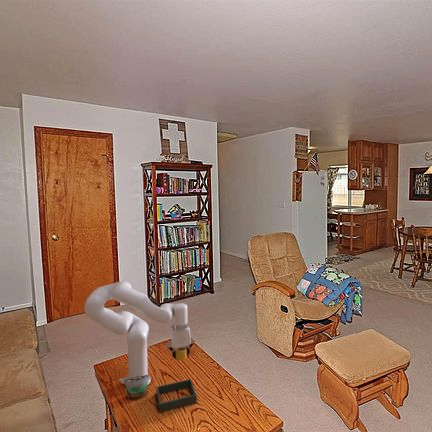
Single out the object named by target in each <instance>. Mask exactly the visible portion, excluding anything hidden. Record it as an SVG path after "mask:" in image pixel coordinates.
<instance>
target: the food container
mask: <svg viewBox="0 0 432 432" xmlns="http://www.w3.org/2000/svg"><path fill="white" fill-rule="evenodd" d="M149 376H150V373H148V375H145V376H138V377H134V378H131V379H127V380H125V379H124V384H123V385H125V391H126V397H127V399H129V400H140V399H142V398H144V396H146V395H147V393H148V385H149V384H148V380H149ZM147 384H148V385H147Z"/></svg>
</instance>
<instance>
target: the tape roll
mask: <svg viewBox="0 0 432 432" xmlns="http://www.w3.org/2000/svg"><path fill="white" fill-rule="evenodd" d="M187 358H188V356H187V346H185V347H179V348H176V349H175V359H174V360H176V361H183V360H186V359H187Z"/></svg>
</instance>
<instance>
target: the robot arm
mask: <svg viewBox="0 0 432 432" xmlns="http://www.w3.org/2000/svg"><path fill="white" fill-rule="evenodd" d="M110 300H114V301H116V302H118V303H121V304H122V305H125V306H128V307H131V308H133V309H135V310H137V311H138V312H140V313H141V314H142V315H143V316H145V317H146V318H148V319H150V320H152V321H154V322H157V323H160V324H168V323H169V322H171V321H173V323H172V324H171V325H170V328H171V336H170V337H171V338H170V340H169V341H168V342H167V344H165V347H166V348H167V349H168V350H169V351H171V356H172V358H173V359H174V360H176V359H175V349H176V348H179V347H187V357H189V356H190V354H191V348H192V347H193V346H194V344H196V339H194V338H193V337H192V336H191V330H190V327H189V325H188V323H189V322H188V320H189V319H188V317H189V316H188V305H187V304H186V303H183V302H181V303H167V302H166V303H163V304H161V306H158V305H156V304H155V303H153V301H151V299H150V298H149V296H148V295H147V294H146V293H143V292H140V291H139V290H136V289H133V288H132V285H131V284H130V283H129V282H128V281H125V280H123V281H122V280H121V281H117V282H114V283H109V284H106V285H102V286H99V287H97V288H95V289H94V290H93V291H92V292H91V293H90V294H89V296H88V297H87V298H86V301H85V303H84V314H85V315H86V317H87V318H89V319H90V320H91V321H93V322H95V323H97V324H99V325H100V326H102V327H103V328H105V329H107V330H109V331H110V332H112V333H114V334H115V335H116V336H117V335H118V336H122V335H125V334H126V333H128V334H127V337H126V338H127V339H126V344H127V357H128V358H127V361H128V374H127V376H125V377H122V378H119V383H121V384H122V385H125V384H124V379H125V380H127V379H131V378H134V377H138V376H145V375H148V374H149V371H148V369H149V368H148V367H149V366H148V343H147V342H148V341H147V340H148V335H149V330H150V326H149V324H148V323H147V322H146V321H145V320H143V319H142V318H140V317H138V316H137V315H135V314H134V313H132V312H130V311H127V310H122V311H119V312H115V311H114V310H113V309H110V308H107V307H105V304H106V303H107V301H110ZM151 381H152V378H151V376H150V375H149V380H148V384H147V386H149V384H151Z"/></svg>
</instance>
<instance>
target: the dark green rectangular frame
mask: <svg viewBox="0 0 432 432" xmlns="http://www.w3.org/2000/svg"><path fill="white" fill-rule="evenodd" d="M187 388H189V389H190V392H191V395H188V396H184V397H180V398H176V399H172V400H168V401H164V402H162V401H161V395H162V394H167V393H170V392H175V391H178V390H183V389H187ZM156 398H157V405H158V411H159V413H162V412H165V411H166V412H167V411H170V410H174V409H177V408H182V407H185V406H186V407H187V406H188V405H193V404H197V393H196V389H195V386H194V384H193V380H192V379H191V378H190V379H185V380H180V381H176V382H171V383H167V384H163V385H158V386H156Z"/></svg>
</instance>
